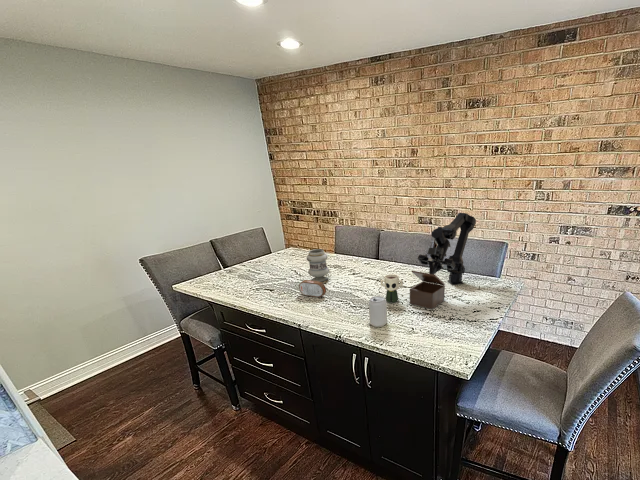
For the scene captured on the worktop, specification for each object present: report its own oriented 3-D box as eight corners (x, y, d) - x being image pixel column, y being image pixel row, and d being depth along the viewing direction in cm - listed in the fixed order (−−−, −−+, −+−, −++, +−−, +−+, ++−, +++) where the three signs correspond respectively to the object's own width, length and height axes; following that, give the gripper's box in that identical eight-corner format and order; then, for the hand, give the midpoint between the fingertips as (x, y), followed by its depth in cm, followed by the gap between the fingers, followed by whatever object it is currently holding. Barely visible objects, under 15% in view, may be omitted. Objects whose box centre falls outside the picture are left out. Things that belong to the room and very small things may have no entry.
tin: (327, 296, 176) (325, 281, 173) (324, 298, 173) (322, 283, 170) (302, 293, 181) (300, 278, 177) (299, 295, 178) (297, 280, 175)
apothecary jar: (305, 282, 197) (301, 252, 190) (317, 276, 207) (313, 247, 200) (322, 284, 192) (319, 254, 185) (334, 278, 203) (331, 249, 196)
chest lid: (434, 276, 154) (435, 274, 154) (411, 271, 161) (411, 270, 161) (444, 285, 166) (445, 284, 166) (422, 281, 172) (422, 279, 172)
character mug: (380, 303, 166) (379, 278, 161) (382, 297, 173) (381, 273, 168) (402, 304, 165) (401, 279, 160) (403, 298, 172) (403, 274, 167)
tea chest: (432, 309, 159) (432, 293, 156) (409, 303, 166) (409, 288, 163) (444, 300, 169) (444, 285, 166) (422, 295, 175) (422, 281, 172)
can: (369, 320, 149) (368, 295, 145) (386, 319, 150) (385, 294, 145) (369, 328, 142) (368, 302, 138) (387, 327, 143) (386, 301, 138)
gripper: (419, 238, 167) (407, 265, 163) (453, 242, 157) (442, 271, 153) (427, 250, 176) (416, 276, 172) (460, 255, 166) (449, 282, 162)
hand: (430, 276), depth 164 cm, fingers closed
